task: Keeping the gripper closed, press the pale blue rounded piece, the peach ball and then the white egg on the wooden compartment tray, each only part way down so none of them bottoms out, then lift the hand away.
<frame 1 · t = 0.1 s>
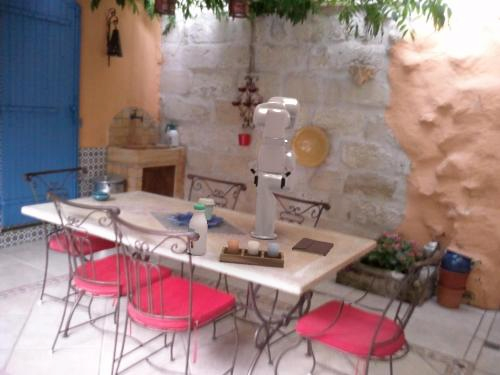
hand: (269, 187, 185), 31 cm above the table, tool pointing down, fingers open, 9 cm apart
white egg: (253, 247, 194), point 5 cm above the table, slide at 0.0 cm
milk bottle: (196, 253, 199), on the table
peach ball: (233, 245, 194), point 5 cm above the table, slide at 0.0 cm
coffee cup: (204, 222, 252), on the table
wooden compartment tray: (252, 260, 195), on the table
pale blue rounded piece: (273, 249, 194), point 5 cm above the table, slide at 0.0 cm
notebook: (313, 249, 222), on the table
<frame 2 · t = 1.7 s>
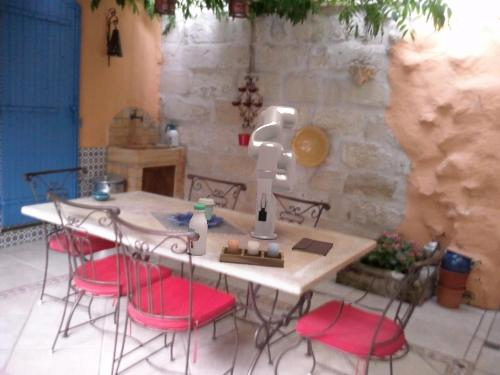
hand: (262, 220, 192), 17 cm above the table, tool pointing down, fingers closed
nothing on the table moved.
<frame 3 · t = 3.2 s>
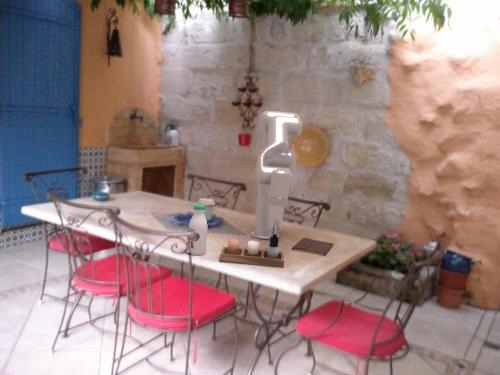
hand: (273, 246, 194), 7 cm above the table, tool pointing down, fingers closed
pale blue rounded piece: (273, 251, 194), point 4 cm above the table, slide at 1.0 cm, touching gripper
everything else where it was.
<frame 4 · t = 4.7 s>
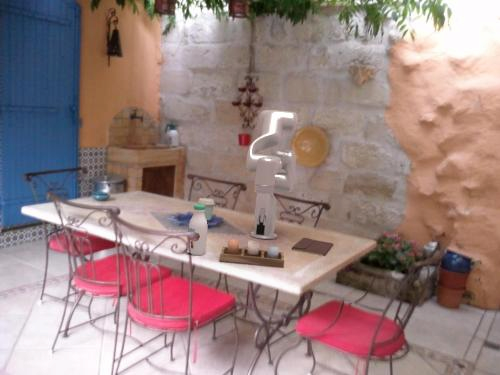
hand: (260, 234, 193), 11 cm above the table, tool pointing down, fingers closed
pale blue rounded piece: (272, 253, 194), point 4 cm above the table, slide at 1.6 cm
everything else where it was.
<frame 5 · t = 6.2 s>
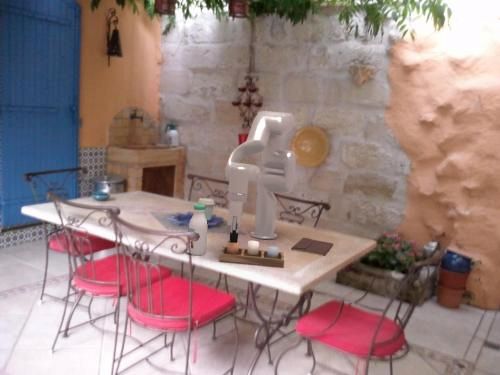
hand: (233, 242, 194), 7 cm above the table, tool pointing down, fingers closed
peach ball: (233, 247, 195), point 5 cm above the table, slide at 0.8 cm, touching gripper
everything else where it was.
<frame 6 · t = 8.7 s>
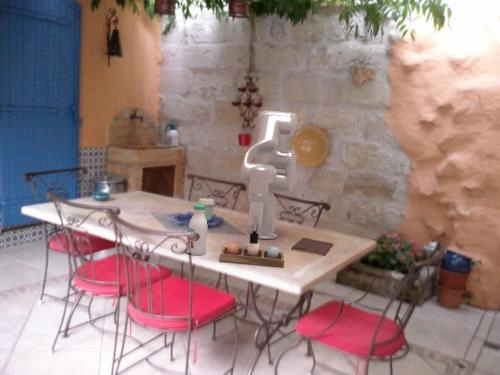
hand: (253, 243, 194), 7 cm above the table, tool pointing down, fingers closed
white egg: (253, 248, 194), point 5 cm above the table, slide at 0.4 cm, touching gripper
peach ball: (233, 249, 195), point 4 cm above the table, slide at 1.6 cm
everything else where it was.
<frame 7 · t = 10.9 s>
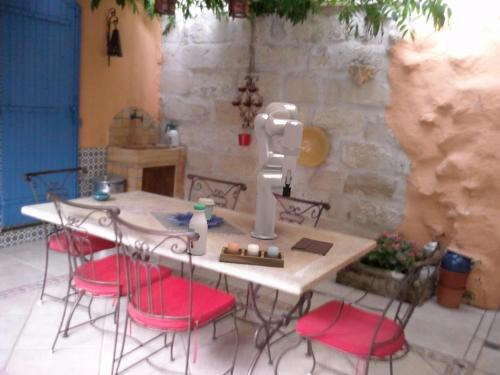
hand: (286, 196, 199), 26 cm above the table, tool pointing down, fingers closed
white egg: (252, 251, 195), point 4 cm above the table, slide at 1.6 cm
everything else where it was.
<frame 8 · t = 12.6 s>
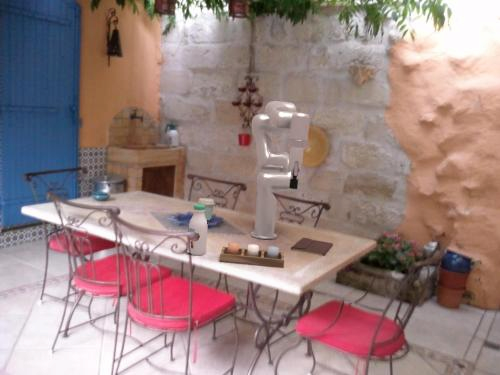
hand: (293, 188, 200), 29 cm above the table, tool pointing down, fingers closed
nothing on the table moved.
at the end: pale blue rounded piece slide at 1.6 cm; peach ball slide at 1.6 cm; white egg slide at 1.6 cm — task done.
